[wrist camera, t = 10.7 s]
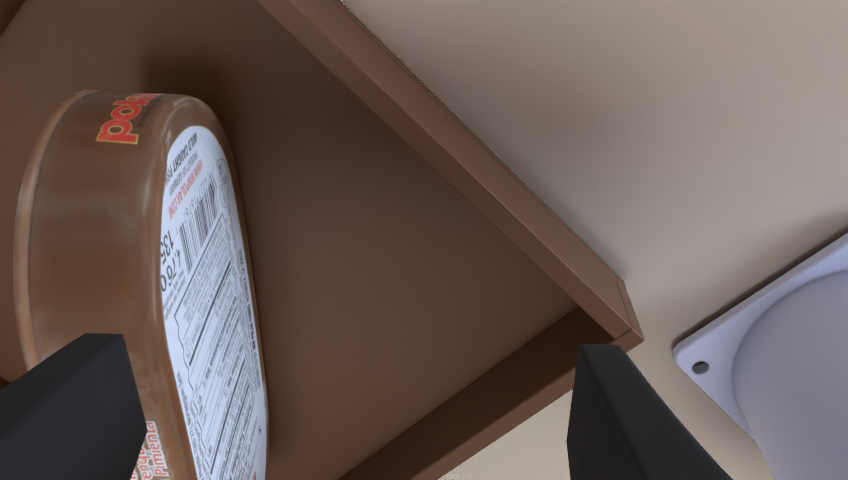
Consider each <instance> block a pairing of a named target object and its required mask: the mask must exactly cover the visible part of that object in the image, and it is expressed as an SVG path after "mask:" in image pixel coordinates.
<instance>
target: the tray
mask: <svg viewBox="0 0 848 480" xmlns="http://www.w3.org/2000/svg"><path fill="white" fill-rule="evenodd" d="M86 89H99V90H104V91H107V92H109V93H112V94H136V93H168V94H182V95H188V96H192V97H195V98H198V99H200V100H201V101H203V102H204V103H205V104H207V105H208V106H209V107H210V108H211V109H212V110H213V112H214V113H215V114H216V116H217V117H218V119H219V121H220V123H221V124H222V126H223V128H224V130H225V133H226V136H227V138H228V141H229V144H230V147H231V150H232V154H233V157H234V161H235V166H236V170H237V175H238V180H239V185H240V190H241V196H242V203H243V210H244V217H245V224H246V231H247V238H248V245H249V252H250V260H251V267H252V274H253V281H254V289H255V296H256V304H257V312H258V320H259V329H260V337H261V345H262V354H263V363H264V371H265V379H266V386H267V397H268V413H269V462H268V480H437V479H439V478H440V477H442V476H443V475H445V474H446V473H448V472H449V471H451V470H452V469H454V468H455V467H457V466H458V465H460V464H461V463H463V462H464V461H466V460H467V459H469V458H470V457H472V456H473V455H475V454H476V453H478V452H479V451H481V450H482V449H484V448H485V447H487V446H488V445H490V444H491V443H493V442H494V441H496V440H497V439H499V438H500V437H502V436H503V435H505V434H506V433H508V432H509V431H510V430H512V429H513V428H515V427H516V426H518V425H519V424H521V423H522V422H524V421H525V420H527V419H528V418H530V417H531V416H533V415H534V414H536V413H537V412H539V411H540V410H542V409H543V408H545V407H546V406H548V405H549V404H551V403H552V402H554V401H555V400H557V399H558V398H560V397H561V396H563V395H564V394H566V393H567V392H569V391H570V390H572V389H573V386H574V378H575V370H576V362H577V354H578V346H579V344H603V345H619V346H620V347H621V348H622V349H623V350H624V351H625V352H626V353H627V352H628V351H630V350H631V349H633V348H634V347H636V346H637V345H639V344H640V343H642V342H643V341H644V337H643V334H642V331H641V329H640V326H639V323H638V320H637V318H636V315H635V312H634V309H633V307H632V304H631V301H630V298H629V296H628V293H627V291H626V287H625V284H624V282H623V281H622V280H621V279H620V278H619V277H618V276H617V275H616V274H615V273H614V272H613V271H612V270H611V269H610V268H609V267H608V266H607V265H606V264H605V263H604V262H603V261H602V260H601V259H600V258H599V257H598V256H597V255H596V254H595V253H594V252H593V251H592V250H591V249H590V248H589V247H588V246H587V245H586V244H585V243H584V242H583V241H582V240H581V239H580V238H579V237H578V236H577V235H576V234H575V233H574V232H573V231H572V230H571V229H570V228H569V227H568V226H567V225H566V224H565V223H564V222H563V221H562V220H561V219H559V218H558V217H557V216H556V215H555V214H554V213H553V212H552V211H551V210H550V209H549V208H548V207H547V206H546V205H545V204H544V203H543V202H542V201H541V200H540V199H539V198H538V197H537V196H536V195H535V194H534V193H533V192H532V191H531V190H530V189H529V188H528V187H527V186H526V185H525V184H524V183H523V182H522V181H521V180H520V179H519V178H518V177H517V176H516V175H515V174H514V173H513V172H512V171H511V170H510V169H509V168H508V167H507V166H506V165H505V164H504V163H503V162H502V161H501V160H500V159H499V158H498V157H497V156H496V155H495V154H494V153H493V152H492V151H491V150H490V149H489V148H488V147H487V146H486V145H485V144H484V143H483V142H482V141H481V140H480V139H478V138H477V137H476V136H475V135H474V134H473V133H472V132H471V131H470V130H469V129H468V128H467V127H466V126H465V125H464V124H463V123H462V122H461V121H460V120H459V119H458V118H457V117H456V116H455V115H454V114H453V113H452V112H451V111H450V110H449V109H448V108H447V107H446V106H445V105H444V104H443V103H442V102H441V101H440V100H439V99H438V98H437V97H436V96H435V95H434V94H433V93H432V92H431V91H430V90H429V89H428V88H427V87H426V86H425V85H424V84H423V83H422V82H421V81H420V80H419V79H418V78H417V77H416V76H415V75H414V74H413V73H412V72H411V71H410V70H409V69H408V68H407V67H406V66H405V65H404V64H403V63H402V62H401V61H400V60H399V59H397V58H396V57H395V56H394V55H393V54H392V53H391V52H390V51H389V50H388V49H387V48H386V47H385V46H384V45H383V44H382V43H381V42H380V41H379V40H378V39H377V38H376V37H375V36H374V35H373V34H372V33H371V32H370V31H369V30H368V29H367V28H366V27H365V26H364V25H363V24H362V23H361V22H360V21H359V20H358V19H357V18H356V17H355V16H354V15H353V14H352V13H351V12H350V11H349V10H348V9H347V8H346V7H345V6H344V5H343V4H342V3H341V2H340V1H339V0H0V390H2V389H3V388H5V387H6V386H8V385H9V384H10V383H12V382H13V381H15V380H16V379H18V378H19V377H21V376H22V375H23V374H25V373H26V372H28V371H27V368H26V365H25V361H24V357H23V353H22V350H21V345H20V340H19V334H18V331H17V320H16V315H15V305H14V288H13V246H14V230H15V218H16V210H17V204H18V196H19V192H20V189H21V185H22V181H23V176H24V172H25V169H26V166H27V164H28V161H29V158H30V155H31V151H32V148H33V146H34V144H35V143H36V140H37V137H38V134H39V132H40V130H41V129H42V127H43V125H44V123H45V122H46V120H47V119H48V117H49V116H50V114H51V113H52V112H53V111H54V110H55V109H56V107H57V106H58V105H59V104H60V103H61V102H62V101H63V100H65V99H66V98H67V97H68V96H70V95H72V94H74V93H76V92H79V91H81V90H86Z"/></svg>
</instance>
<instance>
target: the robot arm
mask: <svg viewBox="0 0 848 480" xmlns="http://www.w3.org/2000/svg"><path fill="white" fill-rule="evenodd" d="M673 358H674V360H675V363H676V364H677V366H678V367H679V368H680V369H681V370H682V371H683V372H684V373H685V374H686V375H687V376H689V377H690V378H691V379H692V380H693V381H694V382H695V383H696V384H697V385H698V386H699V387H700V388H701V389H702V390H703V391H704V392H705V393H706V394H707V395H708V396H709V397H710V398H711V399H712V400H713V401H714V402H715V403H716V404H718V405H719V406H720V407H721V408H722V409H723V410H724V411H725V412H726V413H727V414H728V415H729V416H730V417H731V418H732V419H733V420H734V421H735V422H736V423H737V424H738V425H739V426H740V427H741V428H742V429H743V430H744V431H746V432H747V433H748V434H749V435H750V436H751V437H752V438H753V439H754V440H755V441H756V442H757V444H758V446H759V448H760V450H761V452H762V454H763V456H764V458H765V460H766V462H767V464H768V467H769V469H770V471H771V473H772V475H773V477H774V479H775V480H848V233H846V234H845V235H843V236H842V237H840V238H839V239H837V240H835V241H834V242H832V243H831V244H829V245H828V246H826V247H825V248H823V249H822V250H820V251H819V252H817V253H816V254H814V255H813V256H811V257H810V258H808V259H806V260H805V261H803V262H802V263H800V264H799V265H797V266H796V267H794V268H793V269H791V270H790V271H788V272H787V273H785V274H784V275H782V276H781V277H779V278H777V279H776V280H774V281H773V282H771V283H770V284H768V285H767V286H765V287H764V288H762V289H761V290H759V291H758V292H756V293H755V294H753V295H752V296H750V297H748V298H747V299H745V300H744V301H742V302H741V303H739V304H738V305H736V306H735V307H733V308H732V309H730V310H729V311H727V312H726V313H724V314H723V315H721V316H719V317H718V318H716V319H715V320H713V321H712V322H710V323H709V324H707V325H706V326H704V327H703V328H701V329H700V330H698V331H697V332H695V333H694V334H692V335H690V336H689V337H687V338H686V339H684V340H683V341H681V342H680V343H679V344H677V345H676V346H675V348H674V350H673ZM699 361H704V363H703V364H702V365H699V366H693V365H694V364H695V363H697V362H699ZM147 431H148V429H147V425H146V421H145V417H144V413H143V409H142V406H141V402H140V398H139V394H138V390H137V386H136V382H135V379H134V375H133V371H132V367H131V363H130V359H129V355H128V351H127V348H126V344H125V340H124V336H123V334H109V333H85V334H83V335H81V336H80V337H78V338H77V339H75V340H73V341H72V342H70V343H69V344H67V345H66V346H64V347H63V348H61V349H60V350H58V351H57V352H55V353H54V354H52V355H51V356H49V357H48V358H46V359H45V360H43V361H42V362H41V363H39V364H38V365H36V366H35V367H33V368H32V369H31V370H29V371H28V372H26V373H25V374H23V375H22V376H21V377H19V378H18V379H16V380H15V381H13V382H12V383H10V384H9V385H8V386H6V387H5V388H3V389H2V390H0V480H131V477H132V474H133V471H134V469H135V466H136V463H137V461H138V458H139V455H140V452H141V449H142V446H143V443H144V440H145V437H146V434H147ZM567 450H568V460H569V469H570V478H571V480H733V479H732V478H731V477H730V476H729V475H728V474H727V473H726V472H725V471H724V470H723V469H722V468H721V467H720V466H719V465H718V464H717V463H716V461H715V460H714V459H713V458H712V457H711V456H710V455H709V454H708V453H707V452H706V451H705V449H704V448H703V447H702V446H701V445H700V444H699V443H698V441H697V440H696V439H695V438H694V437H693V436H692V435H691V433H690V432H689V431H688V430H687V429H686V428H685V426H684V425H683V424H682V423H681V422H680V421H679V420H678V418H677V417H676V416H675V415H674V414H673V412H672V411H671V410H670V409H669V408H668V406H667V405H666V404H665V403H664V401H663V400H662V399H661V398H660V396H659V395H658V394H657V393H656V391H655V390H654V389H653V388H652V386H651V385H650V384H649V383H648V381H647V380H646V379H645V377H644V376H643V375H642V373H641V372H640V371H639V370H638V368H637V367H636V366H635V364H634V363H633V362H632V360H631V359H630V358H629V356H628V355H627V354H626V352H625V351H624V350H623V349H622V348H621V347H620V346H619V345H603V344H579V346H578V354H577V362H576V370H575V378H574V386H573V394H572V402H571V410H570V418H569V426H568V434H567Z"/></svg>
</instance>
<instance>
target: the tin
mask: <svg viewBox="0 0 848 480" xmlns="http://www.w3.org/2000/svg"><path fill="white" fill-rule="evenodd" d="M13 288H14V305H15V315H16V320H17V331H18V334H19V340H20V345H21V350H22V353H23V357H24V361H25V365H26V368H27V371H29V370H31V369H32V368H33V367H35V366H36V365H38V364H39V363H41V362H42V361H43V360H45V359H46V358H48V357H49V356H51V355H52V354H54V353H55V352H57V351H58V350H60V349H61V348H63V347H64V346H66V345H67V344H69V343H70V342H72V341H73V340H75V339H77V338H78V337H80V336H81V335H83V334H85V333H109V334H123V336H124V340H125V344H126V348H127V351H128V355H129V359H130V363H131V367H132V371H133V375H134V379H135V382H136V386H137V390H138V394H139V398H140V402H141V406H142V409H143V413H144V417H145V421H146V425H147V429H148V431H147V434H146V437H145V440H144V443H143V446H142V449H141V452H140V455H139V458H138V461H137V463H136V466H135V469H134V471H133V474H132V477H131V480H268V462H269V413H268V397H267V386H266V379H265V371H264V363H263V354H262V345H261V337H260V329H259V320H258V312H257V304H256V296H255V289H254V281H253V274H252V267H251V260H250V252H249V245H248V238H247V231H246V224H245V217H244V210H243V203H242V196H241V190H240V185H239V180H238V175H237V170H236V166H235V161H234V157H233V154H232V150H231V147H230V144H229V141H228V138H227V136H226V133H225V130H224V128H223V126H222V124H221V123H220V121H219V119H218V117H217V116H216V114H215V113H214V112H213V110H212V109H211V108H210V107H209V106H208V105H207V104H205V103H204V102H203V101H201V100H200V99H198V98H195V97H192V96H188V95H182V94H168V93H136V94H112V93H109V92H107V91H104V90H99V89H86V90H81V91H79V92H76V93H74V94H72V95H70V96H68V97H67V98H66V99H65V100H63V101H62V102H61V103H60V104H59V105H58V106H57V107H56V109H55V110H54V111H53V112H52V113H51V114H50V116H49V117H48V119H47V120H46V122H45V123H44V125H43V127H42V129H41V130H40V132H39V134H38V137H37V140H36V143H35V144H34V146H33V148H32V151H31V155H30V158H29V161H28V164H27V166H26V169H25V172H24V176H23V181H22V185H21V189H20V192H19V196H18V204H17V210H16V218H15V230H14V246H13Z"/></svg>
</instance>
